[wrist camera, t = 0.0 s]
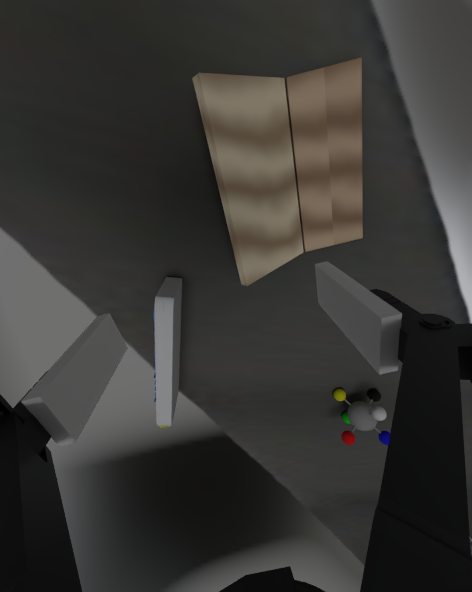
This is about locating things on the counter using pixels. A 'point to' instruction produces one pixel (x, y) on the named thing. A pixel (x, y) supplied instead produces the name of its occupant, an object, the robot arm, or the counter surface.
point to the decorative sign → (167, 348)
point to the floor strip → (327, 152)
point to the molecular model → (362, 416)
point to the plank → (252, 168)
